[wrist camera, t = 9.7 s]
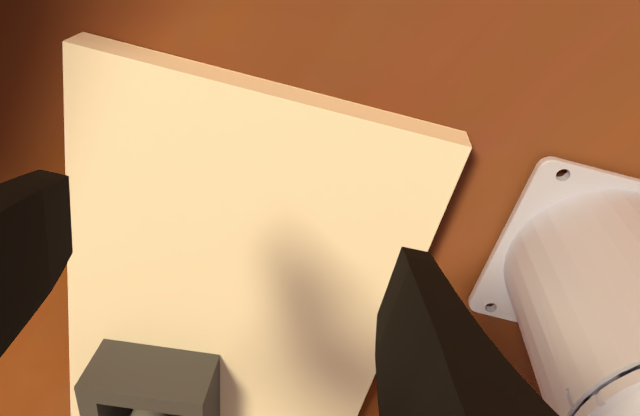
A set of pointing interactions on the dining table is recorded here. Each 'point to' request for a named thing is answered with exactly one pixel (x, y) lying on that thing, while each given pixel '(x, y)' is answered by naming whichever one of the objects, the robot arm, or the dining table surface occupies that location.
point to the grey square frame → (148, 381)
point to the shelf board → (240, 222)
